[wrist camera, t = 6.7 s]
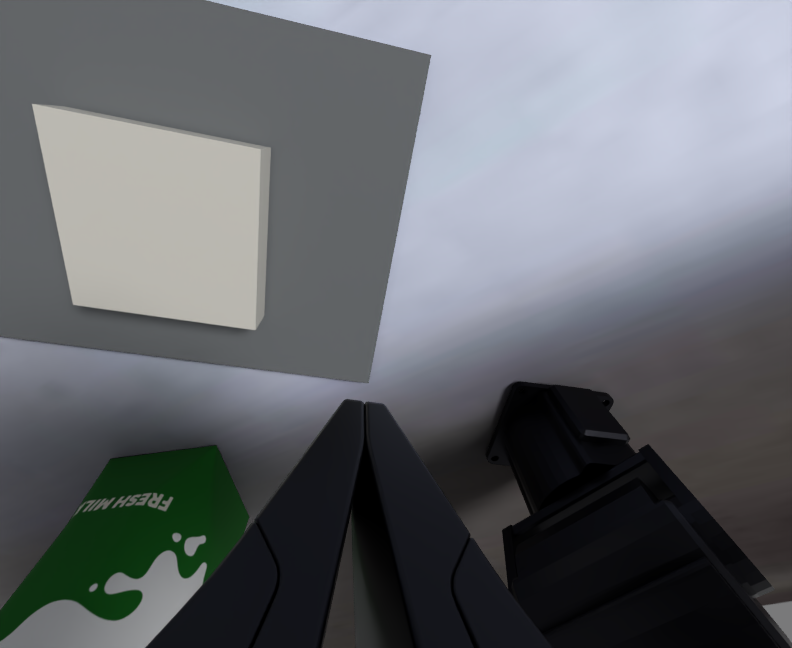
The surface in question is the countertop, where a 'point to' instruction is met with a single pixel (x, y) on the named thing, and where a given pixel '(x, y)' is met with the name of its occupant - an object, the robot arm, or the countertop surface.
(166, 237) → the tile
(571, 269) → the countertop surface
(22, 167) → the mat
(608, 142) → the countertop surface
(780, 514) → the countertop surface
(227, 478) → the milk carton
